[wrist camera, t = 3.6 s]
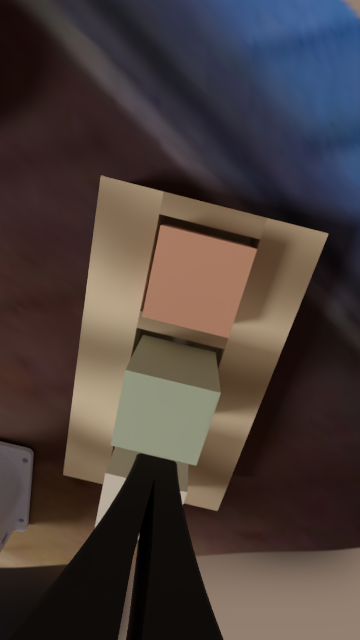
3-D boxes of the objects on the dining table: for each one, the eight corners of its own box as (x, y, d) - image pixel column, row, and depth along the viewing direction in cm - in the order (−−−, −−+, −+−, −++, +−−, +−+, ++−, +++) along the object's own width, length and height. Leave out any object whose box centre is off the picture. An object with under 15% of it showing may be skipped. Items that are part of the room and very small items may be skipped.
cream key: (174, 482, 19) (168, 546, 15) (114, 468, 19) (94, 529, 15) (189, 435, 18) (187, 492, 14) (125, 419, 18) (105, 473, 14)
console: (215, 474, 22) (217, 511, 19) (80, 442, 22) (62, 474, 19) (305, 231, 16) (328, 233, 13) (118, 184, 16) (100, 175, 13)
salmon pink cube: (221, 312, 17) (228, 338, 13) (154, 295, 17) (142, 316, 13) (243, 242, 16) (257, 249, 12) (169, 224, 16) (160, 224, 12)
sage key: (196, 412, 17) (196, 465, 13) (130, 396, 17) (110, 445, 13) (215, 352, 16) (221, 393, 12) (142, 334, 16) (125, 370, 12)
